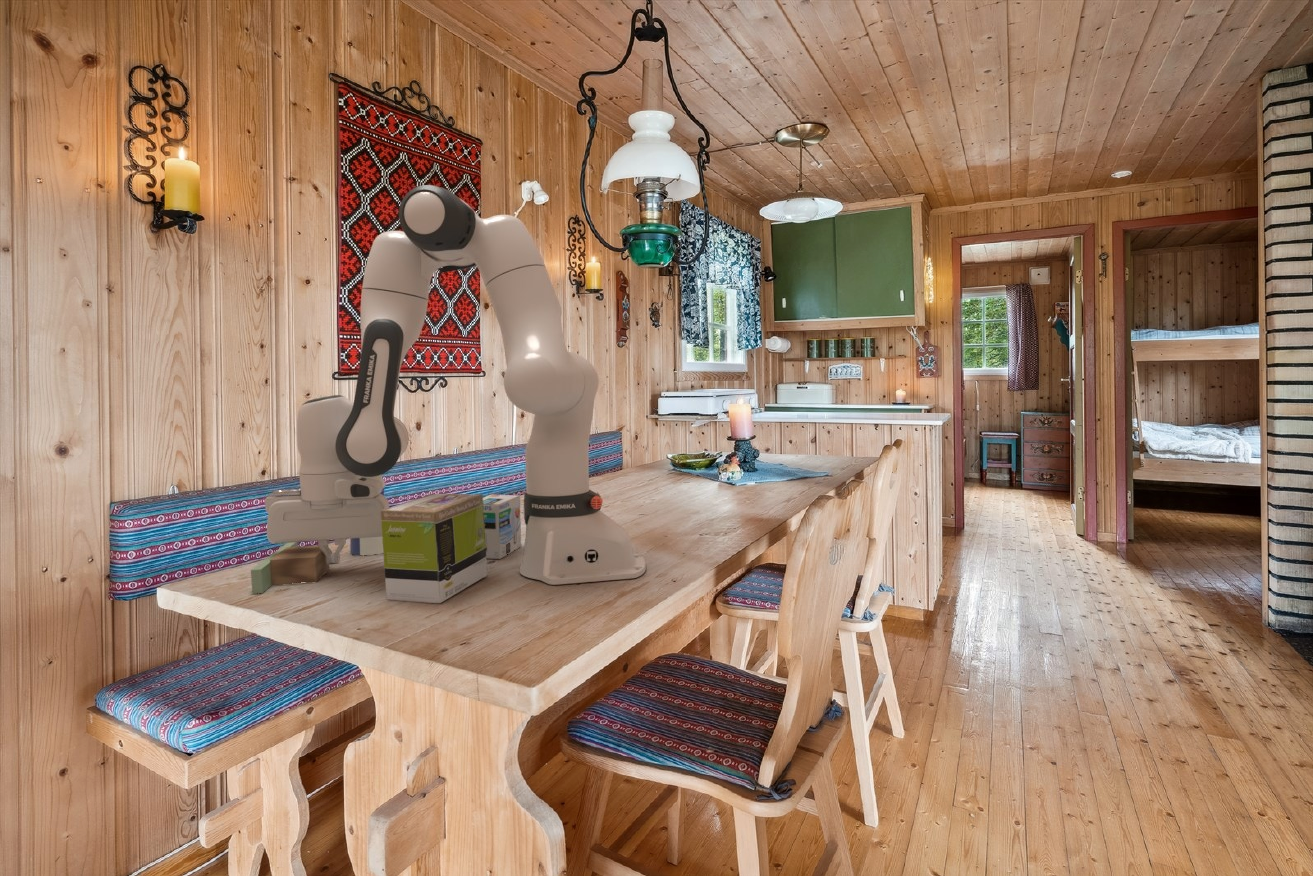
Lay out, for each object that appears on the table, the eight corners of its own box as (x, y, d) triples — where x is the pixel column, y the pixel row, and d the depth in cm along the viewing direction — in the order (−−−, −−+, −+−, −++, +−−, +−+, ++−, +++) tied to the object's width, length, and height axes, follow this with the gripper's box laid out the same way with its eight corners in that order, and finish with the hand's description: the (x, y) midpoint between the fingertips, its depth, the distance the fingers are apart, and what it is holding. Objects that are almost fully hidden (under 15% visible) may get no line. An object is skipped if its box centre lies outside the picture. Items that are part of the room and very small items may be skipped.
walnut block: (329, 568, 126) (328, 544, 125) (316, 582, 117) (314, 557, 117) (288, 571, 124) (286, 547, 124) (271, 586, 116) (270, 560, 115)
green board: (298, 561, 131) (297, 541, 130) (262, 593, 111) (260, 569, 111) (290, 562, 130) (288, 541, 130) (252, 594, 111) (250, 570, 111)
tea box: (437, 573, 121) (434, 491, 120) (488, 577, 119) (485, 493, 118) (383, 601, 107) (378, 507, 106) (440, 605, 104) (436, 509, 103)
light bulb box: (500, 560, 130) (498, 504, 129) (468, 558, 132) (465, 503, 131) (522, 546, 141) (521, 494, 140) (492, 545, 142) (490, 493, 141)
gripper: (257, 493, 116) (263, 573, 118) (385, 487, 121) (389, 563, 122) (270, 487, 122) (275, 563, 124) (391, 481, 127) (395, 554, 128)
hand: (333, 563), depth 123 cm, fingers closed
